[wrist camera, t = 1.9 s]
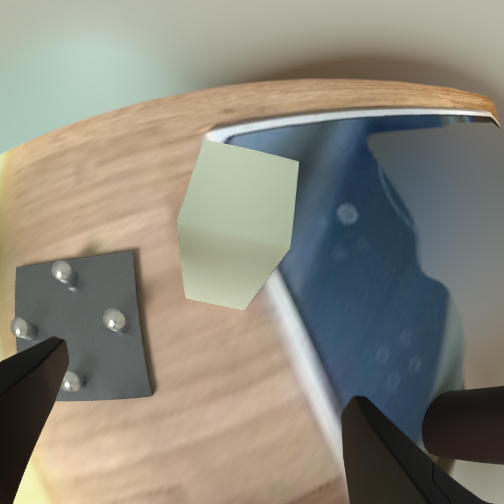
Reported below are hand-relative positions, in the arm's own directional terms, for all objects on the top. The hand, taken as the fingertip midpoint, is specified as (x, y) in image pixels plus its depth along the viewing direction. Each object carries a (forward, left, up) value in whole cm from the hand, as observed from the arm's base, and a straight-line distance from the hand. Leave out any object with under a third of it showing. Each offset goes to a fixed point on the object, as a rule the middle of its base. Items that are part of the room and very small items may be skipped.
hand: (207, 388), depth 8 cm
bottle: (+11, -21, -14) cm, 27 cm away
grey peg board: (-5, +9, -13) cm, 17 cm away
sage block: (+6, +5, -13) cm, 16 cm away
